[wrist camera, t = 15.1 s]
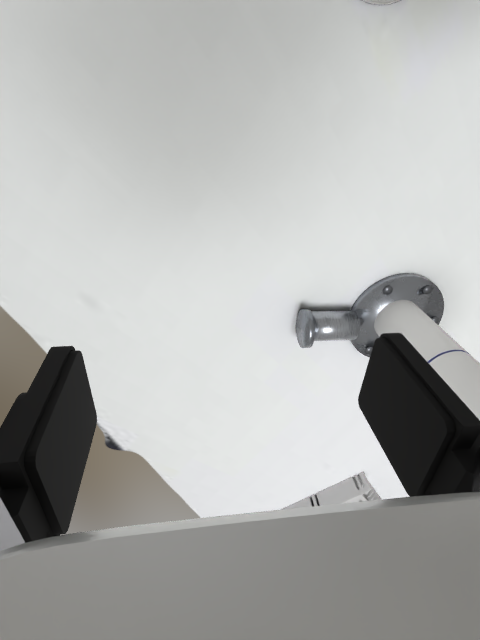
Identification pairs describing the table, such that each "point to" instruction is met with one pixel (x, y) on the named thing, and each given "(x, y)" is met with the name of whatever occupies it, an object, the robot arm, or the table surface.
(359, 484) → the power supply unit
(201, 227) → the table surface
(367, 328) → the flange fitting
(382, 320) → the cylindrical container
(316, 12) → the table surface
